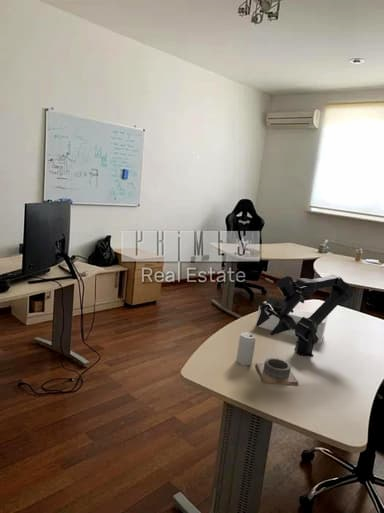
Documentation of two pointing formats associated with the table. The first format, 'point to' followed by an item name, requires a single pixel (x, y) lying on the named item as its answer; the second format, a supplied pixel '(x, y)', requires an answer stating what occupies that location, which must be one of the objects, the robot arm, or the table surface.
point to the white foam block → (297, 316)
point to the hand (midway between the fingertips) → (263, 330)
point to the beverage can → (245, 348)
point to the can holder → (276, 371)
